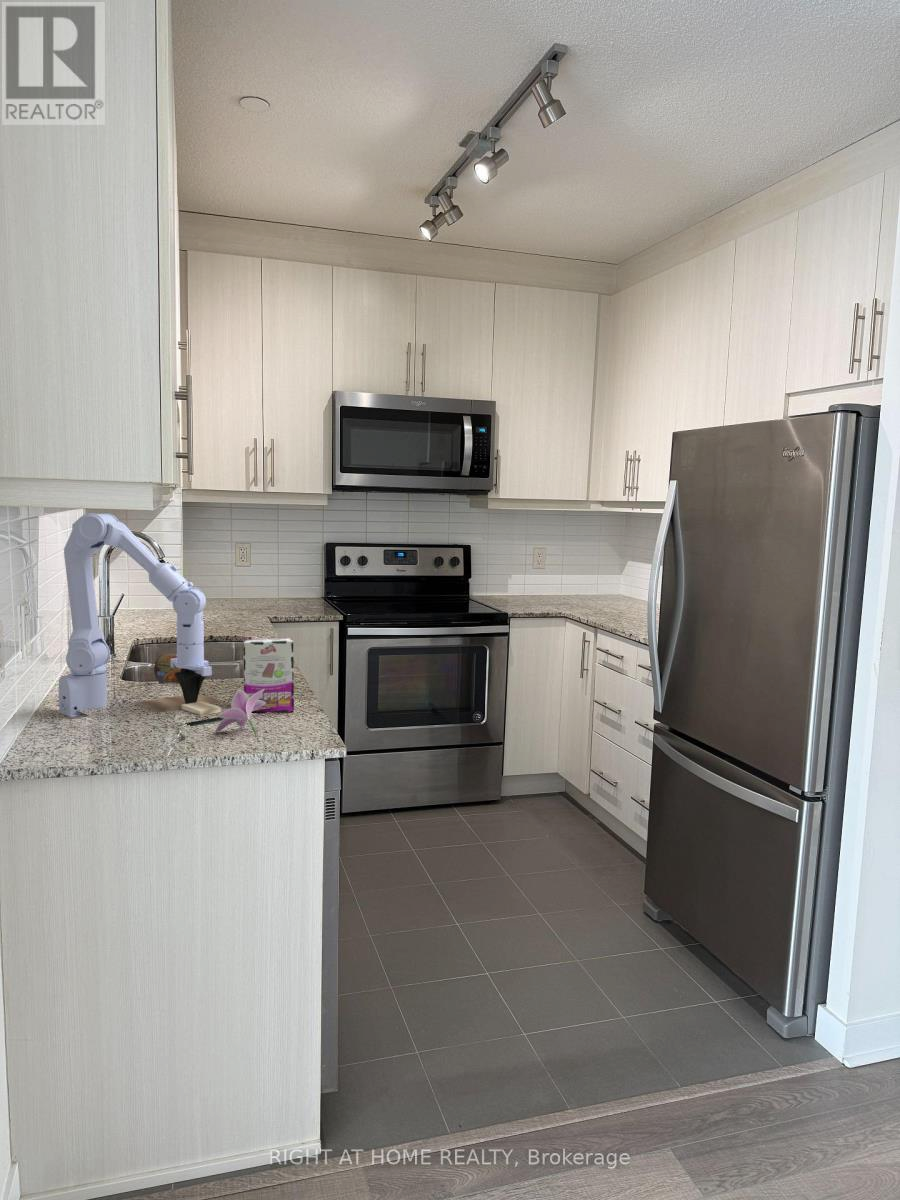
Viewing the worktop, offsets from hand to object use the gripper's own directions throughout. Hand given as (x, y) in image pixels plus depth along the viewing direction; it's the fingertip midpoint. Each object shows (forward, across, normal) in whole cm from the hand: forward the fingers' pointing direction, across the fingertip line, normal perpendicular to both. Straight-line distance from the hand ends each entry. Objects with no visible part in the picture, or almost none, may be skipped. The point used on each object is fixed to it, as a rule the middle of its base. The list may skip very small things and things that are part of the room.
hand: (191, 703), depth 186 cm
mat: (+2, -6, 0) cm, 7 cm away
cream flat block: (+2, -5, 0) cm, 5 cm away
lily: (+2, -22, +1) cm, 22 cm away
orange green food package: (+2, +28, -12) cm, 30 cm away
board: (+2, +6, 0) cm, 6 cm away
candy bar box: (+2, -10, -14) cm, 17 cm away
